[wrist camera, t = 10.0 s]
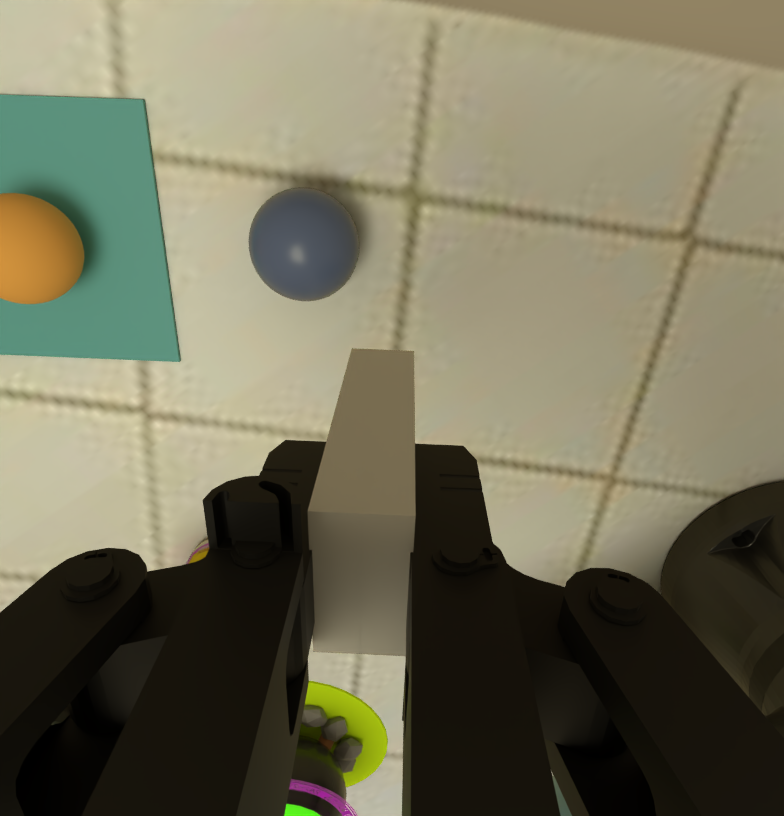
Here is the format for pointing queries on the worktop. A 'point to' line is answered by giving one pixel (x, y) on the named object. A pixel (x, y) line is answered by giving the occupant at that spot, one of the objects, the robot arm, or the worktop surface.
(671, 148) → the worktop surface
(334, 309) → the worktop surface
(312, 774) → the toy cauldron
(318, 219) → the blue ball
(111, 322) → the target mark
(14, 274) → the object ball
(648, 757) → the robot arm
